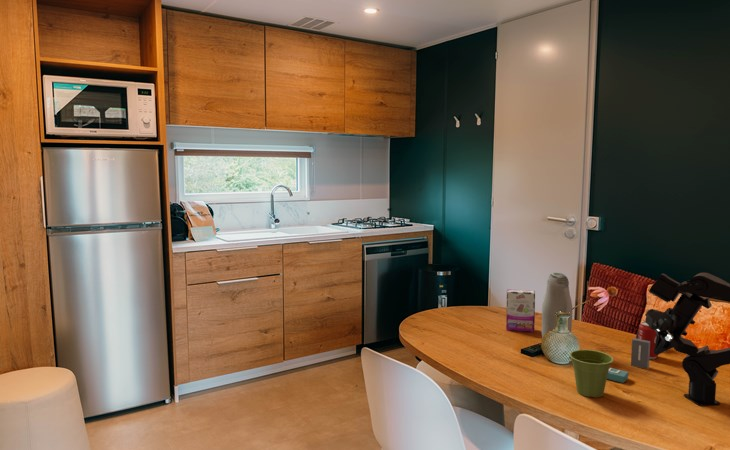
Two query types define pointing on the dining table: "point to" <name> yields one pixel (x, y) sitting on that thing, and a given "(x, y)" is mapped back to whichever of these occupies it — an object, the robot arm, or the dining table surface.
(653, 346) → the beverage can
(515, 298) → the candy bar box
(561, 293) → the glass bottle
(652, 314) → the robot arm
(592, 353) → the plant pot
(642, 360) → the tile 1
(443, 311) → the dining table surface
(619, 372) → the tile
